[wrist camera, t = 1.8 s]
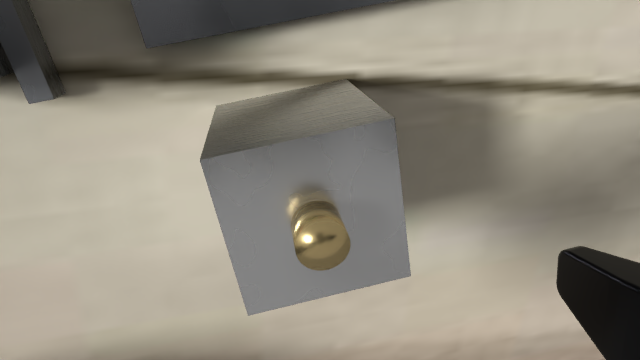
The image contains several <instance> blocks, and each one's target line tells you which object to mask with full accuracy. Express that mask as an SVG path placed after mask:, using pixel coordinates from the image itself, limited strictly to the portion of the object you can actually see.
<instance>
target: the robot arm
mask: <svg viewBox="0 0 640 360" xmlns="http://www.w3.org/2000/svg"><path fill="white" fill-rule="evenodd" d="M556 283H557V289H558V292H559V294H560V296H561V298H562V299H563V300H564V302H565V303H566V305H567V306H568V307H569V309H570V310H571V312H572V313H573V314H574V316H575V317H576V319H577V320H578V321H579V323H580V324H581V326H582V327H583V328H584V330H585V331H586V333H587V334H588V335H589V337H590V338H591V340H592V341H593V342H594V344H595V345H596V347H597V348H598V349H599V351H600V352H601V354H602V355H603V356H604V358H605V359H606V360H640V263H638V262H634V261H631V260H628V259H624V258H621V257H617V256H614V255H611V254H607V253H604V252H601V251H597V250H594V249H590V248H587V247H583V246H578V247H574V248H570V249H566V250H563V251H561V252H560V254H559V256H558V268H557V282H556Z"/></svg>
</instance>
